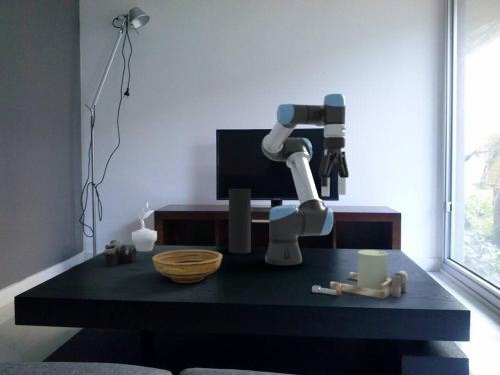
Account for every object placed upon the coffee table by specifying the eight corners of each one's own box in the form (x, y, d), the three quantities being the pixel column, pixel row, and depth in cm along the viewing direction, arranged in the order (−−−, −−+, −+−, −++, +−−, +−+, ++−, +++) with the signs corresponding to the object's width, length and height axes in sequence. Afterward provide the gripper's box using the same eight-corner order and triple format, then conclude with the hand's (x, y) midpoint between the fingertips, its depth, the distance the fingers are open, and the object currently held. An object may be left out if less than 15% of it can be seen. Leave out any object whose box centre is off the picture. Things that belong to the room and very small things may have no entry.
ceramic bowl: (205, 293, 113) (205, 267, 113) (134, 288, 119) (133, 263, 119) (233, 270, 142) (233, 249, 141) (174, 266, 147) (174, 246, 147)
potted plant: (143, 256, 167) (143, 200, 167) (126, 253, 174) (126, 199, 173) (164, 251, 178) (163, 199, 177) (147, 249, 184) (147, 198, 184)
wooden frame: (330, 288, 118) (330, 267, 118) (350, 277, 131) (350, 259, 131) (397, 301, 105) (397, 278, 105) (413, 288, 118) (413, 268, 118)
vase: (224, 253, 174) (224, 189, 174) (240, 250, 181) (240, 188, 181) (238, 256, 167) (238, 189, 166) (255, 253, 174) (255, 189, 173)
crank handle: (312, 291, 115) (312, 282, 115) (314, 290, 116) (314, 280, 116) (340, 296, 110) (340, 286, 110) (342, 294, 112) (342, 284, 112)
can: (389, 293, 113) (390, 254, 112) (358, 292, 115) (358, 253, 114) (385, 285, 122) (385, 248, 121) (356, 283, 124) (356, 247, 123)
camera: (128, 269, 144) (128, 243, 144) (101, 269, 144) (101, 243, 143) (139, 260, 160) (139, 237, 159) (115, 260, 159) (115, 237, 159)
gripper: (328, 133, 124) (327, 197, 124) (357, 139, 143) (357, 194, 144) (308, 135, 128) (308, 196, 129) (339, 140, 148) (339, 194, 148)
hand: (334, 195), depth 136 cm, fingers open, 13 cm apart
